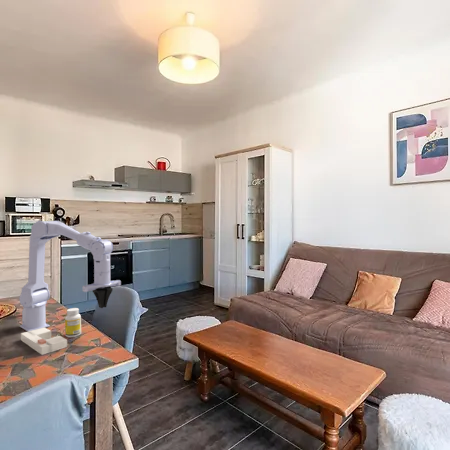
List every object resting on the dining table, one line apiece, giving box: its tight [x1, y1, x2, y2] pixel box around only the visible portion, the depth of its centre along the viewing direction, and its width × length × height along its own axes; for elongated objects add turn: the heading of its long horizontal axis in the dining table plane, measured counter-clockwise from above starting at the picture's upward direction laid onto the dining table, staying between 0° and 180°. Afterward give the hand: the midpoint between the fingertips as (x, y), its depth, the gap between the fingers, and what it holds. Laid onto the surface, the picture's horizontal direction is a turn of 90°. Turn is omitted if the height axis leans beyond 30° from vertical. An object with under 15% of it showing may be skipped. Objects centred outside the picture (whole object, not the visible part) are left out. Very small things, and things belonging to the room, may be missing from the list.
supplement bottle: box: [64, 307, 82, 338], centre depth 118 cm, size 5×5×10 cm
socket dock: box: [20, 327, 68, 356], centre depth 110 cm, size 19×8×3 cm, turn 51°
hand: (102, 307), depth 119 cm, fingers closed
